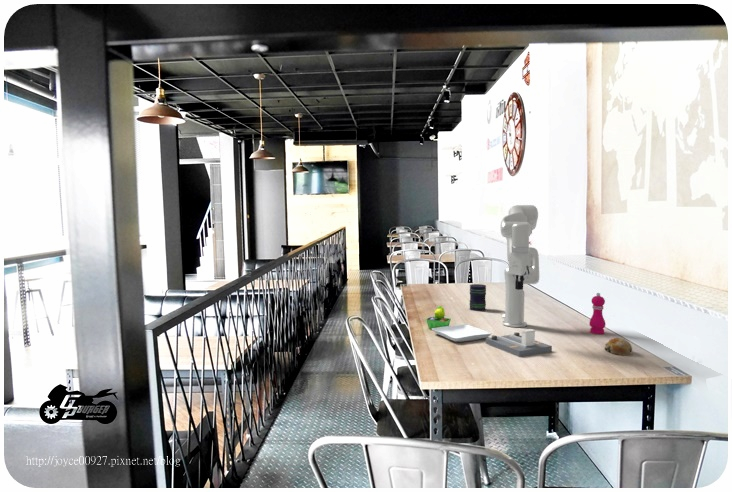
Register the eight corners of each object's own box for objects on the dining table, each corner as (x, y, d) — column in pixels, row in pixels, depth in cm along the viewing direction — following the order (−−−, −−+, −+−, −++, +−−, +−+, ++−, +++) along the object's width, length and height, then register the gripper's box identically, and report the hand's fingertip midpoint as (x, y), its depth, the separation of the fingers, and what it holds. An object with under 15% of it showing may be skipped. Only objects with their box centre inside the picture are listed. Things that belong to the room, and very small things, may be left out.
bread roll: (625, 364, 201) (635, 349, 198) (601, 351, 205) (611, 335, 203) (627, 358, 209) (636, 343, 207) (603, 345, 214) (613, 330, 211)
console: (485, 343, 220) (485, 335, 220) (516, 339, 227) (516, 331, 227) (519, 356, 200) (519, 347, 200) (551, 351, 207) (551, 342, 207)
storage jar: (487, 311, 291) (487, 286, 290) (471, 311, 291) (471, 286, 290) (483, 307, 301) (484, 284, 300) (468, 307, 301) (468, 284, 300)
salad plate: (430, 334, 238) (430, 327, 238) (466, 330, 246) (466, 323, 246) (454, 345, 219) (454, 337, 218) (492, 340, 227) (492, 333, 227)
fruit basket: (425, 329, 247) (425, 307, 246) (431, 325, 255) (431, 304, 254) (446, 331, 242) (446, 309, 241) (452, 327, 250) (452, 306, 249)
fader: (520, 345, 208) (521, 330, 207) (530, 343, 210) (530, 328, 210) (525, 346, 205) (525, 331, 205) (535, 345, 207) (535, 330, 207)
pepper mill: (607, 334, 235) (608, 294, 234) (591, 334, 236) (592, 293, 235) (602, 331, 242) (604, 291, 241) (587, 330, 244) (588, 291, 242)
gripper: (502, 248, 227) (502, 287, 229) (525, 252, 213) (523, 293, 215) (515, 247, 230) (514, 285, 232) (538, 251, 216) (537, 291, 218)
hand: (519, 289), depth 223 cm, fingers closed
